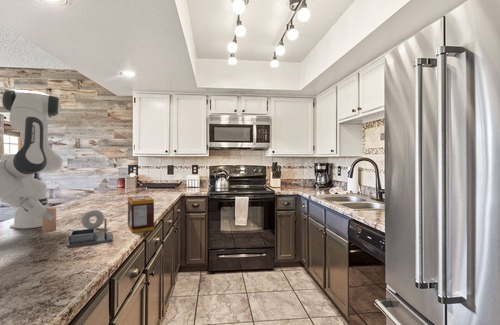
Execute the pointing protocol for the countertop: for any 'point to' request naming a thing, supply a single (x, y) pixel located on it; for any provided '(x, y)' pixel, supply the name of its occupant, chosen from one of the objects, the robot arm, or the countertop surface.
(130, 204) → the supplement box
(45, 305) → the countertop surface
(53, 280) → the countertop surface
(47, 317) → the countertop surface
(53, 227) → the wooden block
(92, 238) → the grey tape dispenser
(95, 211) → the grey ring
